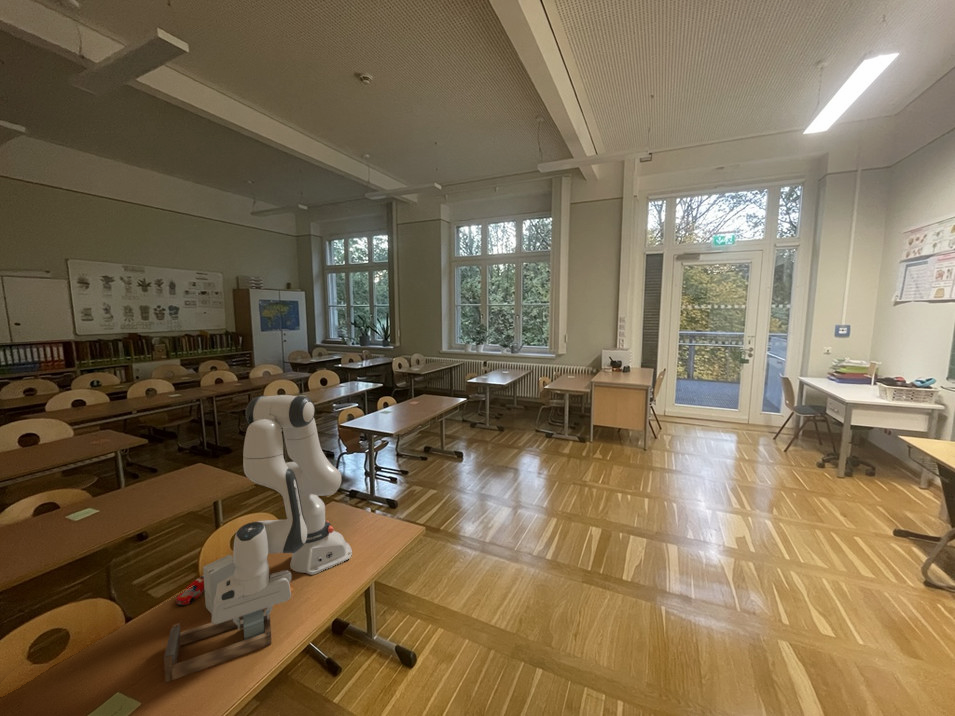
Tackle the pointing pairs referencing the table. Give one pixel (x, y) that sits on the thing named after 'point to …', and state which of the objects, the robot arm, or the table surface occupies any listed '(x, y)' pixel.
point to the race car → (191, 592)
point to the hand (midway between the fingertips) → (253, 623)
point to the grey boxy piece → (253, 624)
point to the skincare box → (216, 577)
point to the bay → (212, 657)
